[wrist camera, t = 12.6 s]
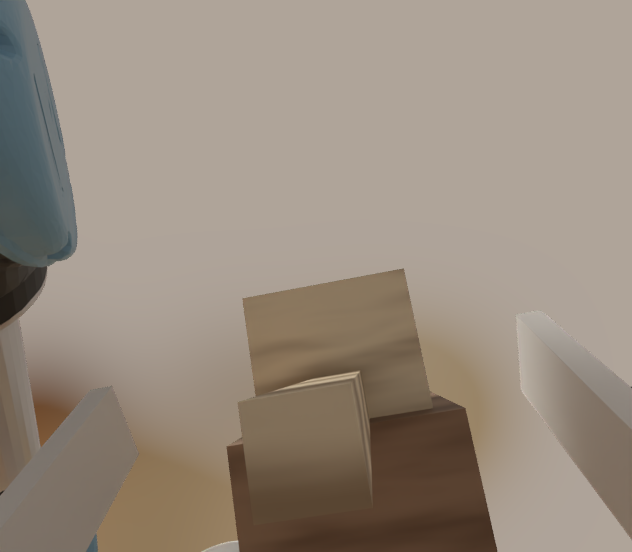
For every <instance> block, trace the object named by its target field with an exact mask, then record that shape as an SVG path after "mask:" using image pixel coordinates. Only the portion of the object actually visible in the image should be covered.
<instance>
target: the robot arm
mask: <svg viewBox="0 0 632 552" xmlns="http://www.w3.org/2000/svg"><path fill="white" fill-rule="evenodd" d="M76 247H77V226H76V217H75V207H74V200H73V194H72V187H71V184H70V179H69V173H68V168H67V163H66V159H65V149H64V144H63V138H62V133H61V128H60V123H59V119H58V114H57V110H56V105H55V100H54V96H53V92H52V88H51V83H50V79H49V75H48V71H47V67H46V64H45V60H44V56H43V52H42V48H41V45H40V42H39V38H38V35H37V32H36V29H35V25H34V22H33V19H32V16H31V13H30V10H29V8H28V5H27V3H26V1H25V0H0V552H98V546H97V535H96V532H97V530H98V528H99V526H100V525H101V523H102V521H103V519H104V517H105V516H106V514H107V512H108V510H109V508H110V506H111V504H112V503H113V501H114V499H115V497H116V495H117V493H118V492H119V490H120V488H121V486H122V484H123V482H124V481H125V479H126V477H127V475H128V473H129V471H130V469H131V468H132V466H133V464H134V462H135V460H136V458H137V457H138V455H139V453H138V450H137V448H136V445H135V442H134V440H133V437H132V435H131V432H130V430H129V427H128V425H127V422H126V420H125V417H124V415H123V412H122V409H121V407H120V405H119V402H118V399H117V397H116V394H115V392H114V389H113V387H112V386H110V387H105V388H99V389H94V390H90V391H89V392H88V393H87V395H86V396H85V397H84V398H83V399H82V400H81V402H80V403H79V404H78V405H77V406H76V408H75V409H74V410H73V411H72V412H71V413H70V415H69V416H68V417H67V418H66V419H65V420H64V421H63V423H62V424H61V425H60V426H59V427H58V429H57V430H56V431H55V432H54V433H53V434H52V436H51V437H50V438H49V439H48V441H46V443H45V444H44V445H43V446H42V447H40V441H39V435H38V429H37V423H36V417H35V411H34V405H33V399H32V393H31V387H30V381H29V375H28V369H27V363H26V357H25V351H24V345H23V339H22V333H21V327H20V321H19V317H20V316H22V315H23V314H24V313H25V312H26V311H27V310H28V309H29V308H30V307H31V306H32V305H33V303H34V302H35V301H36V300H37V298H38V296H39V295H40V294H41V292H42V290H43V288H44V286H45V282H46V277H47V266H50V265H52V264H53V263H55V262H56V261H62V260H65V259H68V258H69V257H71V256H72V254H73V253H74V252H75V250H76ZM516 323H517V337H518V338H517V339H518V354H519V368H520V383H521V391H522V393H523V394H524V395H525V397H526V398H527V399H528V401H529V402H530V404H531V405H532V406H533V407H534V409H535V410H536V412H537V413H538V414H539V416H540V417H541V418H542V420H543V421H544V422H545V424H546V425H547V426H548V428H549V429H550V430H551V432H552V433H553V434H554V436H555V437H556V438H557V440H558V441H559V442H560V444H561V445H562V446H563V448H564V449H565V450H566V452H567V453H568V454H569V456H570V457H571V459H572V460H573V461H574V463H575V464H576V465H577V467H578V468H579V469H580V471H581V472H582V473H583V475H584V476H585V477H586V478H587V480H588V481H589V483H590V484H591V485H592V487H593V488H594V490H595V491H596V492H597V494H598V495H599V496H600V498H601V499H602V500H603V502H604V503H605V504H606V505H607V507H608V508H609V510H610V511H611V512H612V514H613V515H614V516H615V517H616V519H617V520H618V522H619V523H620V524H621V526H622V527H623V528H624V530H625V531H626V532H627V534H628V535H629V537H630V538H631V539H632V387H630V386H629V385H627V384H626V383H625V382H624V381H623V380H622V379H620V378H619V377H618V376H617V375H616V374H615V373H614V372H612V371H611V370H610V369H608V368H607V366H605V365H604V364H603V363H602V362H601V361H599V360H598V359H597V358H596V357H594V355H593V354H591V353H590V352H589V351H588V350H587V349H586V348H584V347H583V346H582V345H581V344H580V343H579V342H577V341H576V340H575V339H574V338H573V337H572V336H570V335H569V334H568V333H567V332H566V331H565V330H563V329H562V328H561V327H560V326H559V325H558V324H556V323H555V322H554V321H553V320H552V319H551V318H549V317H548V316H547V315H546V314H545V313H544V312H542V311H534V312H529V313H524V314H517V315H516Z"/></svg>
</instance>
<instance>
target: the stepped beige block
mask: <svg viewBox="0 0 632 552" xmlns="http://www.w3.org/2000/svg"><path fill="white" fill-rule="evenodd" d="M243 307H244V314H245V321H246V328H247V336H248V343H249V350H250V357H251V365H252V372H253V380H254V386H255V394H256V397H253V398H250V399H247V400H243V401H240V402H238V408H239V416H240V423H241V432H242V440H243V447H244V455H245V463H246V471H247V478H248V486H249V494H250V502H251V510H252V517H253V525H259V524H266V523H273V522H280V521H287V520H293V519H300V518H307V517H314V516H321V515H327V514H334V513H341V512H348V511H355V510H362V509H368V508H373V498H372V471H371V445H370V418H375V417H381V416H388V415H394V414H400V413H406V412H412V411H419V410H425V409H431V408H433V405H432V400H431V395H430V391H429V386H428V381H427V376H426V372H425V367H424V362H423V357H422V353H421V348H420V343H419V338H418V334H417V329H416V324H415V320H414V315H413V311H412V306H411V301H410V296H409V291H408V286H407V282H406V277H405V272H404V269H399V270H393V271H388V272H383V273H377V274H372V275H366V276H361V277H356V278H350V279H345V280H339V281H334V282H329V283H323V284H318V285H313V286H307V287H302V288H296V289H291V290H286V291H280V292H275V293H269V294H265V295H259V296H253V297H248V298H243Z"/></svg>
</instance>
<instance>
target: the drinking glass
mask: <svg viewBox="0 0 632 552" xmlns="http://www.w3.org/2000/svg"><path fill="white" fill-rule="evenodd" d="M202 552H239V544H238V541H232V542H226V543H222V544H219V545H215V546H213V547H210V548H208V549H206V550H204V551H202Z"/></svg>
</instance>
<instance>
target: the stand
mask: <svg viewBox="0 0 632 552" xmlns="http://www.w3.org/2000/svg"><path fill="white" fill-rule="evenodd" d="M430 395H431V400H432V405H433V408H431V409H425V410H419V411H412V412H406V413H400V414H394V415H388V416H381V417H375V418H370V445H371V471H372V498H373V508H368V509H362V510H355V511H348V512H341V513H334V514H327V515H321V516H314V517H307V518H300V519H293V520H287V521H280V522H273V523H266V524H259V525H253V517H252V510H251V502H250V494H249V486H248V478H247V471H246V463H245V455H244V447H243V440H242V438H240V439H238V440H237V441H235V442H233V443H232V444H230V445H229V446H227V453H228V462H229V470H230V478H231V486H232V494H233V502H234V511H235V519H236V527H237V536H238V544H239V552H497V547H496V543H495V539H494V534H493V530H492V525H491V521H490V516H489V512H488V508H487V503H486V498H485V494H484V490H483V486H482V481H481V476H480V472H479V467H478V463H477V458H476V454H475V450H474V445H473V441H472V437H471V432H470V428H469V423H468V418H467V414H466V410H465V408H464V407H462V406H460V405H457V404H455V403H453V402H451V401H449V400H447V399H445V398H443V397H441V396H438V395H436V394H434V393H432V392H430Z"/></svg>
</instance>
